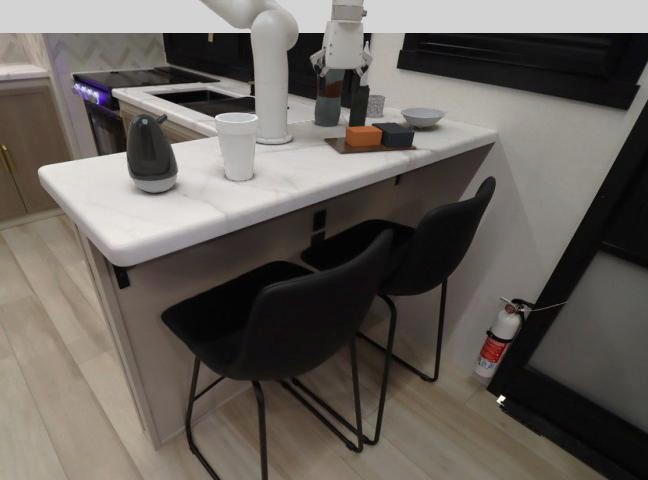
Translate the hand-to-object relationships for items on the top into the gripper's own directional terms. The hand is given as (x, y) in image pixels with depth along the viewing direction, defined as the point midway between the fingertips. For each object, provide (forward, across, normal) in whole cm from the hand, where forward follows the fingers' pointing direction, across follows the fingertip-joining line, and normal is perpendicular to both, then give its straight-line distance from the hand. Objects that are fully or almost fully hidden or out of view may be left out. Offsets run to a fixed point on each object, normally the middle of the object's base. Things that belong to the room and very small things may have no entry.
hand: (338, 93), depth 104 cm
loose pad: (+13, -9, 0) cm, 16 cm away
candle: (+14, -15, -17) cm, 27 cm away
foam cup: (+14, +31, +19) cm, 39 cm away
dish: (+14, -39, -16) cm, 44 cm away
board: (+14, -12, 0) cm, 18 cm away
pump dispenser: (+15, +50, +23) cm, 57 cm away
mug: (+14, -29, -36) cm, 48 cm away
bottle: (+14, -8, -26) cm, 31 cm away
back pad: (+13, -19, 0) cm, 23 cm away
